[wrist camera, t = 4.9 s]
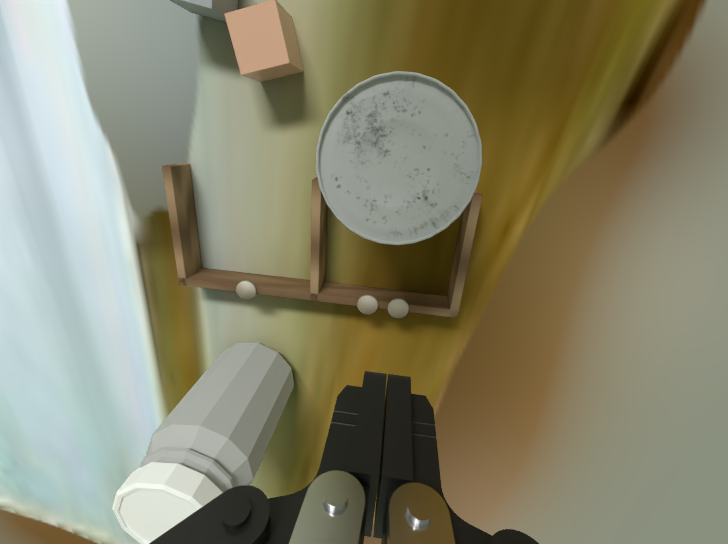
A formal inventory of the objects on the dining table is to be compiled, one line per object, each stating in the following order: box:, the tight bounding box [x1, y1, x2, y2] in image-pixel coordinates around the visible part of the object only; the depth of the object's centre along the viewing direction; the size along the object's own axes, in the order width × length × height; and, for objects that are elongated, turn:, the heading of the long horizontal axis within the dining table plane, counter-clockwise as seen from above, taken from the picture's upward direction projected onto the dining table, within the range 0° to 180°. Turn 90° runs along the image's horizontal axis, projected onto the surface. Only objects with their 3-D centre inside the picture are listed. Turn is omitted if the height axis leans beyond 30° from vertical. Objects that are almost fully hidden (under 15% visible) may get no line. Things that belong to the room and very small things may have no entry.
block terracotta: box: [224, 0, 304, 82], centre depth 27 cm, size 4×4×4 cm
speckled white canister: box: [316, 71, 482, 245], centre depth 25 cm, size 10×10×12 cm
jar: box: [112, 343, 294, 544], centre depth 34 cm, size 10×10×18 cm
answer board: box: [162, 163, 482, 318], centre depth 33 cm, size 12×28×3 cm, turn 86°
